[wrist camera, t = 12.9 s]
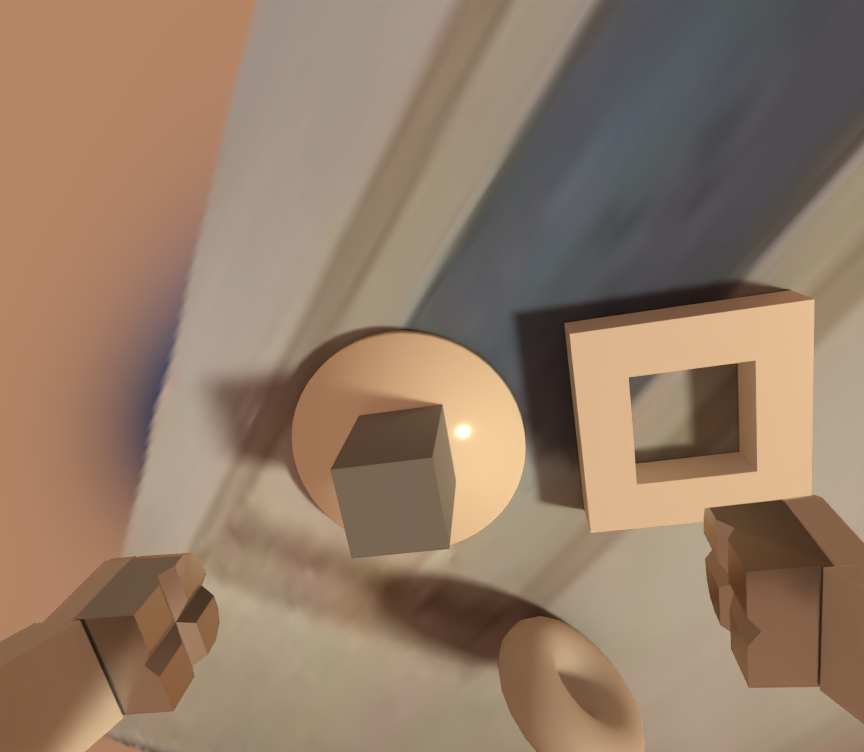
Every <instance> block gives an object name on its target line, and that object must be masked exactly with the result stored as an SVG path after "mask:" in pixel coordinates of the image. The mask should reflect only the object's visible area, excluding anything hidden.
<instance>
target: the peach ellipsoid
mask: <svg viewBox="0 0 864 752" xmlns="http://www.w3.org/2000/svg"><path fill="white" fill-rule="evenodd" d="M435 405H443V410H444V416H445V421H446V427H447V432H448V438H449V444H450V449H451V455H452V461H453V466H454V472H455V478H456V488H455V498H454V508H453V518H452V528H451V538H450V544H454V543H457V542H459V541H461V540H464V539H466V538H468V537H470V536H472V535H474V534H475V533H477V532H479V531H480V530H482V529H483V528H484V527H486V526H487V525H488V524H490V523H491V522H492V521H493V520H494V519H495V518H496V517H497V516H498V515H499V514H500V513H501V512H502V511H503V509H504V508H505V507H506V505H507V504H508V503H509V501H510V500H511V498H512V496H513V494H514V493H515V491H516V489H517V486H518V484H519V481H520V478H521V475H522V471H523V467H524V462H525V449H526V448H525V433H524V427H523V422H522V417H521V413H520V410H519V407H518V405H517V402H516V399H515V397H514V396H513V394H512V392H511V390H510V388H509V386H508V385H507V383H506V382H505V381H504V379H503V378H502V377H501V375H500V374H499V373H498V372H497V371H496V370H495V369H494V368H493V366H492V365H491V364H490V363H489V362H487V361H486V360H485V359H484V358H482V357H481V356H480V355H479V354H478V353H476V352H474V351H473V350H471V349H469V348H468V347H466V346H465V345H463V344H461V343H458V342H456V341H454V340H452V339H450V338H446V337H443V336H440V335H437V334H433V333H427V332H422V331H409V330H399V331H387V332H382V333H378V334H373V335H370V336H367V337H364V338H362V339H359V340H356V341H355V342H353V343H351V344H349V345H347V346H345V347H343V348H342V349H341V350H339V351H338V352H336V353H335V354H333V355H332V356H331V357H330V358H329V359H328V360H327V361H326V362H325V363H324V364H323V365H322V366H321V367H320V368H319V369H318V370H317V372H316V373H315V374H314V375H313V377H312V378H311V379H310V380H309V382H308V383H307V385H306V387H305V389H304V390H303V392H302V394H301V396H300V399H299V401H298V404H297V406H296V409H295V414H294V418H293V424H292V450H293V455H294V461H295V464H296V467H297V470H298V473H299V476H300V478H301V480H302V482H303V484H304V486H305V488H306V490H307V491H308V493H309V494H310V496H311V498H312V499H313V500H314V502H315V503H316V504H317V505H318V506H319V508H320V509H321V510H322V511H323V512H324V513H325V514H326V515H327V516H328V517H329V518H330V519H332V520H333V521H334V522H335V523H337V524H338V525H339V526H341V527H342V528H343V529H345V528H344V524H343V520H342V516H341V512H340V508H339V504H338V500H337V495H336V491H335V487H334V483H333V479H332V475H331V471H330V469H331V467H332V466H333V464H334V462H335V460H336V458H337V456H338V454H339V452H340V450H341V448H342V447H343V445H344V443H345V441H346V439H347V437H348V435H349V433H350V431H351V430H352V428H353V426H354V424H355V422H356V420H357V418H358V416H359V415H366V414H374V413H381V412H389V411H397V410H404V409H412V408H420V407H427V406H435Z"/></svg>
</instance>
